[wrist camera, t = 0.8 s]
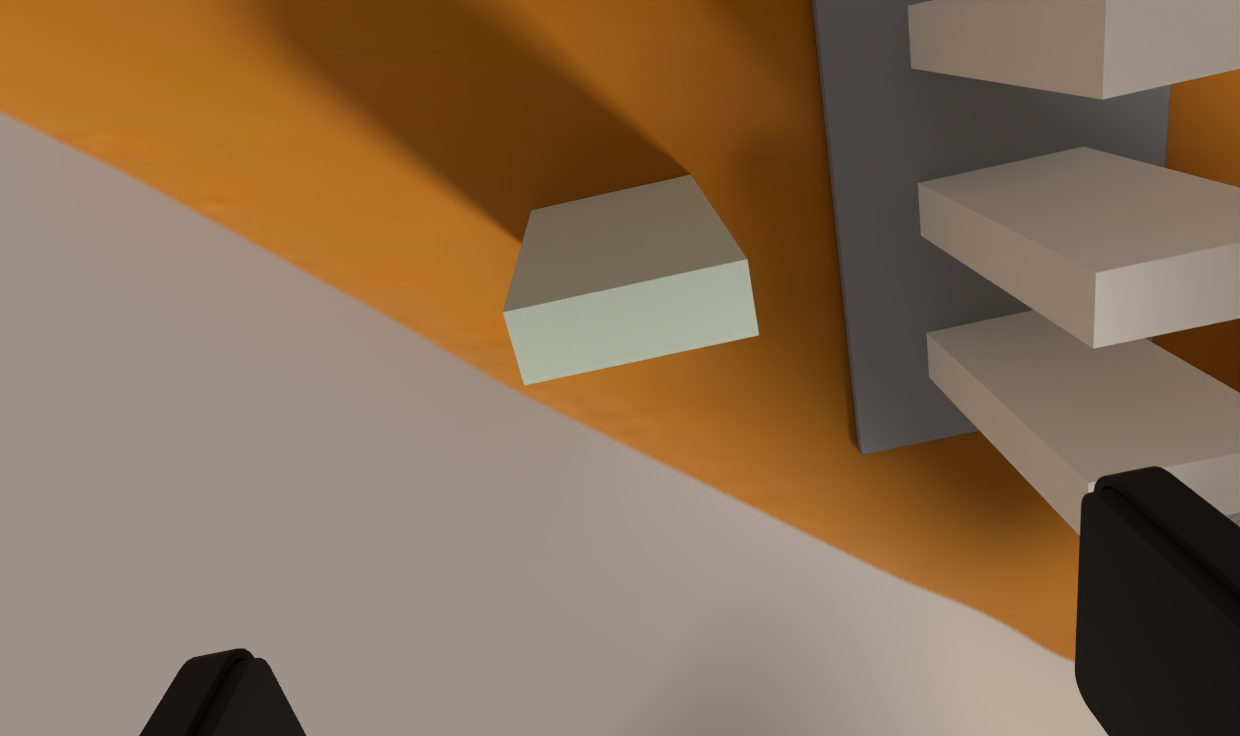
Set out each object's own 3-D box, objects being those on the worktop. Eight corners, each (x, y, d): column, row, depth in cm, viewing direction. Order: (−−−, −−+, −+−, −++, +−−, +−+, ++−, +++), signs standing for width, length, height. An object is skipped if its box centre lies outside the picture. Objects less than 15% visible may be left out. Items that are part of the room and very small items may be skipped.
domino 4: (1077, 346, 32) (1306, 499, 22) (929, 377, 32) (1086, 542, 22) (1079, 300, 31) (1316, 437, 21) (926, 332, 31) (1088, 482, 21)
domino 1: (700, 227, 30) (759, 335, 20) (544, 261, 30) (523, 385, 20) (690, 174, 29) (747, 259, 19) (531, 210, 29) (502, 312, 19)
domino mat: (1141, 391, 33) (1149, 396, 33) (858, 449, 34) (861, 454, 33) (1190, -360, 23) (1202, -368, 23) (785, -258, 24) (789, -264, 23)
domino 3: (1081, 200, 29) (1341, 296, 19) (920, 235, 30) (1093, 348, 20) (1083, 146, 28) (1354, 218, 18) (918, 183, 29) (1096, 272, 19)
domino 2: (1087, 28, 27) (1386, 36, 17) (911, 68, 27) (1102, 99, 17) (1088, -37, 26) (1404, -69, 16) (907, 5, 26) (1106, 0, 16)
